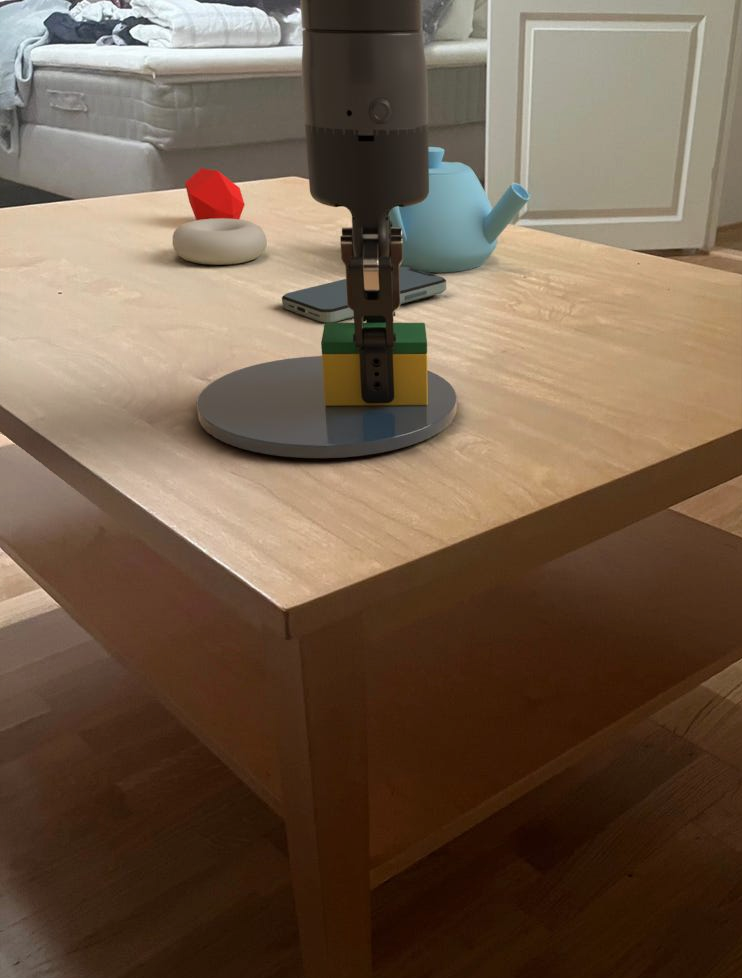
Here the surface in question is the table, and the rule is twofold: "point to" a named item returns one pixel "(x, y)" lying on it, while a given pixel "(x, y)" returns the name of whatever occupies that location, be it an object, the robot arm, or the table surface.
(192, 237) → the donut
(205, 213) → the faceted red jewel
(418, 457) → the table surface
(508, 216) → the teapot
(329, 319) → the smartphone
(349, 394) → the sponge
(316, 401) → the plate
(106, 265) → the table surface
